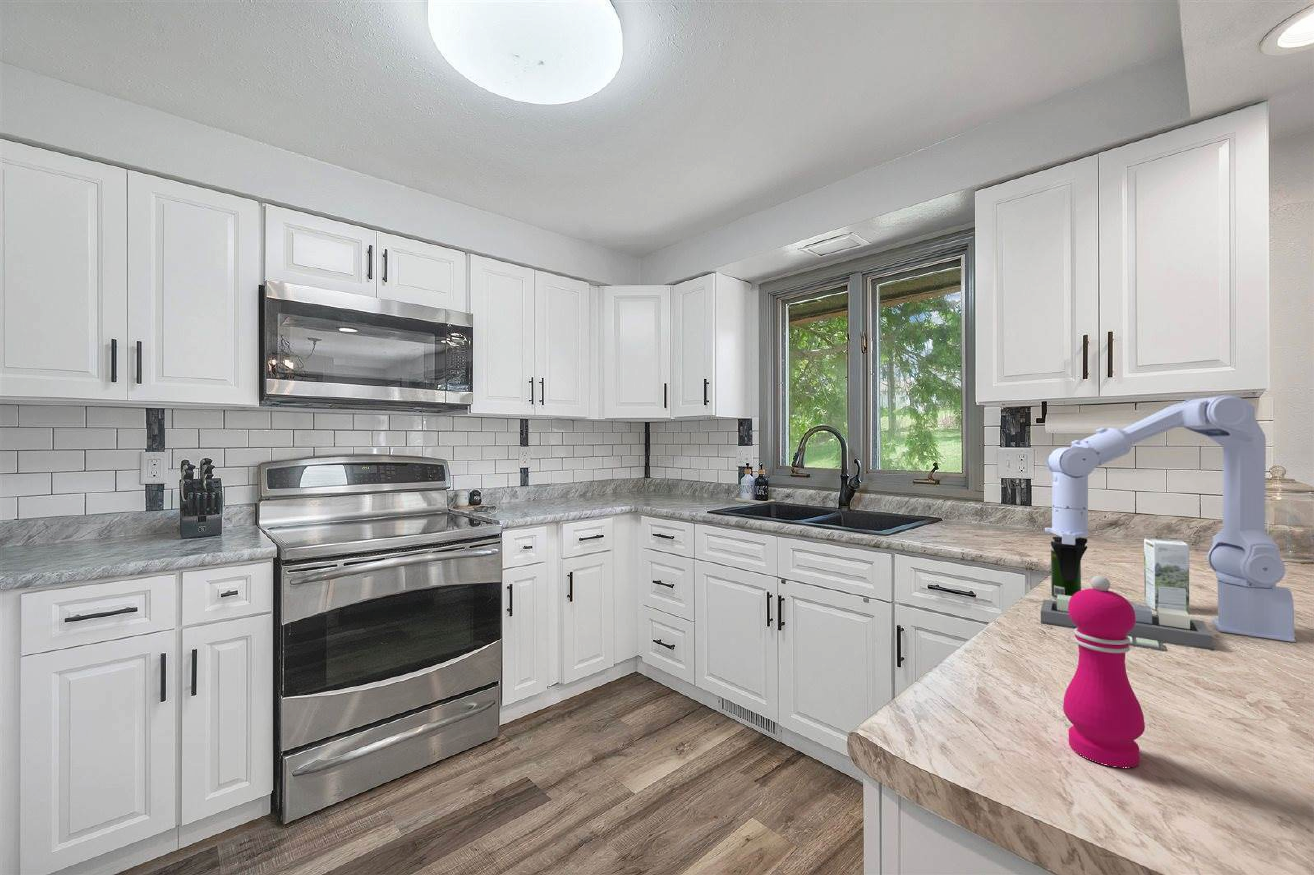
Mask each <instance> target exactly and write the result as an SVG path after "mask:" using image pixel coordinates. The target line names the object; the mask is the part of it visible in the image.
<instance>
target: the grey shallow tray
mask: <svg viewBox="0 0 1314 875" xmlns="http://www.w3.org/2000/svg"><path fill="white" fill-rule="evenodd" d="M1040 624H1044V625H1050V626H1056V627H1062V628H1063V627H1064V628H1069V629H1075V628H1078V627H1077V626H1076V624H1075V623H1074V622H1073V621H1072V620H1071V618H1070V616H1069V614H1068V611H1061V610H1057V600H1050V599H1043V600H1042V603H1041V609H1040ZM1126 636H1130V637H1132V638H1136V637H1137V638H1143V639H1149V640H1156V641H1158V642H1161V643H1163V644H1171V645H1177V646H1183V647H1189V648H1197V649H1203V650H1207V651H1208V650H1209V651H1214V635H1213V634H1212V632H1211V631H1210V629H1209V628H1208V627H1207V625H1206V623H1205V621H1203V620H1197V619H1191V618H1190V629H1186V628H1179V627H1172V626H1165V625H1159V622H1158V620H1157V614H1153V613H1152V624H1151V623H1144V622H1137V621H1135V625H1134V627H1133V628H1132V630H1130V631H1129V632H1128V633H1127V634H1126Z"/></svg>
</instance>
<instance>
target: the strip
mask: <svg viewBox="0 0 1314 875" xmlns="http://www.w3.org/2000/svg"><path fill="white" fill-rule="evenodd" d="M1128 637H1129V639H1130V642H1129V646H1132V647H1136V648H1144V649H1149V648H1150V649H1149V650H1156V651H1161V652H1165V651H1166V650H1165V649H1166V648H1165V645H1164V643H1163V642H1158V641H1156V640H1149V639H1143V638H1137V637H1136V638H1132V637H1130V636H1128Z"/></svg>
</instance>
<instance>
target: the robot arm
mask: <svg viewBox="0 0 1314 875" xmlns="http://www.w3.org/2000/svg"><path fill="white" fill-rule="evenodd" d="M1255 415H1256V407H1255V405H1253V404H1251V403H1250V402H1249V401H1247V400H1245V399H1244V398H1242V397H1239V396H1238V395H1233V394H1224V395H1219V396H1213V397H1202V398H1188V399H1186V400H1184V401H1183V402H1179V403H1174V404H1172V405H1169V406H1168V407H1165V408H1164V409H1163V408H1162V410H1159V411H1157V412H1155V413H1153V414H1151V415H1149V416H1147V417H1145V418H1143V419H1141V420H1139V421H1137V422H1134V423H1132V424H1131V425H1128V426H1126V427H1124V428H1122V429H1119V428H1115V427H1109V428H1107V427H1101V428H1098V429H1096V430H1095V433H1094V434H1092V435H1090V436H1088V437H1086V438H1083V439H1081V440H1079V439H1075V440H1073V441H1071V442H1070V443H1071V445H1070V447H1068V446H1067V447H1064V446H1063V447H1059V448H1056V449H1054V450H1053V451H1052V452H1051V454H1049V457H1048V459H1046V461H1045V462H1046V466H1047V468H1048V470H1049V471H1050V472H1051V473H1052V478H1051V479H1052V481H1051V482H1052V484H1051V527H1045V528H1044V532H1047V533H1052V534H1054V535H1056V536H1052V539H1053V541H1050V545H1051V548H1053V550H1054V551H1055V554H1056V556H1057V559H1058V563H1059V569H1060V574H1061V577H1062V579H1063V580H1070V581H1075V580H1076V578H1077V574H1078V569H1079V564H1080V561H1081V560H1082V559H1083V556H1084V554H1085V553H1086V551H1087V549H1088V546H1087V545H1086V544H1087V543H1088V538H1086V537H1089V536H1090V531H1089V530H1088V529H1089V528H1088V526H1089V475H1090V474H1091V473H1093V471H1094V470H1095V468H1098V467H1100V466H1102V465H1105V464H1106V463H1110V462H1111V461H1114V460H1116V459H1118V458H1120V457H1121V458H1122V457H1123V456H1125V455H1128V454H1129V453H1130V452H1131V450H1132V447H1133V445H1134V444H1136V443H1139V442H1141V441H1145V440H1147V439H1150V438H1153V437H1154V436H1157V435H1160V434H1162V433H1163V434H1164V433H1165V432H1167V431H1170V430H1172V429H1175V428H1183V429H1186V430H1188V431H1191V432H1194V433H1197V434H1200V435H1202V436H1203V435H1204V436H1207V437H1208V438H1209V439H1211V440H1212V441H1214V442H1216V443H1217V444H1218V445H1220V446H1221V447H1222V453H1223V454H1222V528H1221V530H1219V531H1218V532H1217V533H1216V534H1215V535H1214V536H1213V537H1212V545H1211V548H1210V549H1209V550H1208V552H1207V556H1206V560H1207V561H1206V562H1207V564H1208V565H1209V568H1211V570H1212V571H1214V572H1215V578H1216V579H1217V584H1216V585H1217V586H1216V587H1217V616H1218V617H1217V619H1216V618H1212V619H1211V620H1212V623H1213V624H1214V626H1215V627H1216V628H1217V630H1218V631H1219V632H1222V633H1227V634H1235V635H1236V634H1237V635H1242V636H1249V637H1254V638H1255V637H1257V638H1261V639H1270V640H1277V641H1283V642H1292V643H1296V642H1297V641H1296V639H1295V607H1294V606H1295V605H1294V604H1295V603H1294V599H1293V598H1294V597H1293V594H1292V591H1291V589H1289V588H1288V587H1282V586H1277V584H1278V583H1280V582H1281V581H1282V580H1283V578H1284V577H1285V575H1286V565H1285V563H1284V561H1283V560H1282V558H1281V555H1280V551H1279V550H1280V548H1279V545H1278V544H1277V543H1276V542H1275V540H1273V539H1272V538H1271V537H1270V536H1269V535H1268V534H1267V533H1266V478H1267V476H1266V474H1267V472H1266V464H1267V462H1266V460H1267V458H1266V454H1267V453H1266V452H1267V451H1266V449H1267V448H1266V447H1267V446H1266V443H1267V438H1266V434H1265V433H1264V431H1263V428H1261V426H1260V424H1259V422H1258V421H1257V418H1256V416H1255ZM1081 562H1082V561H1081Z"/></svg>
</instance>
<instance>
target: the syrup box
mask: <svg viewBox="0 0 1314 875" xmlns="http://www.w3.org/2000/svg"><path fill="white" fill-rule="evenodd" d="M1143 559H1144V560H1143V562H1144V563H1143V565H1144V567H1143V568H1144V569H1143V570H1144V575H1143V576H1144V604H1145V606H1150V608H1151V610H1154V611H1157V607H1159V608H1167V609H1174V610H1182V611H1187V613H1188V614H1190V545H1189V544H1188V543H1187V542H1185V541H1184V540H1183V541H1182V540H1179V539H1164V538H1162V539H1161V538H1144V540H1143Z"/></svg>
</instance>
